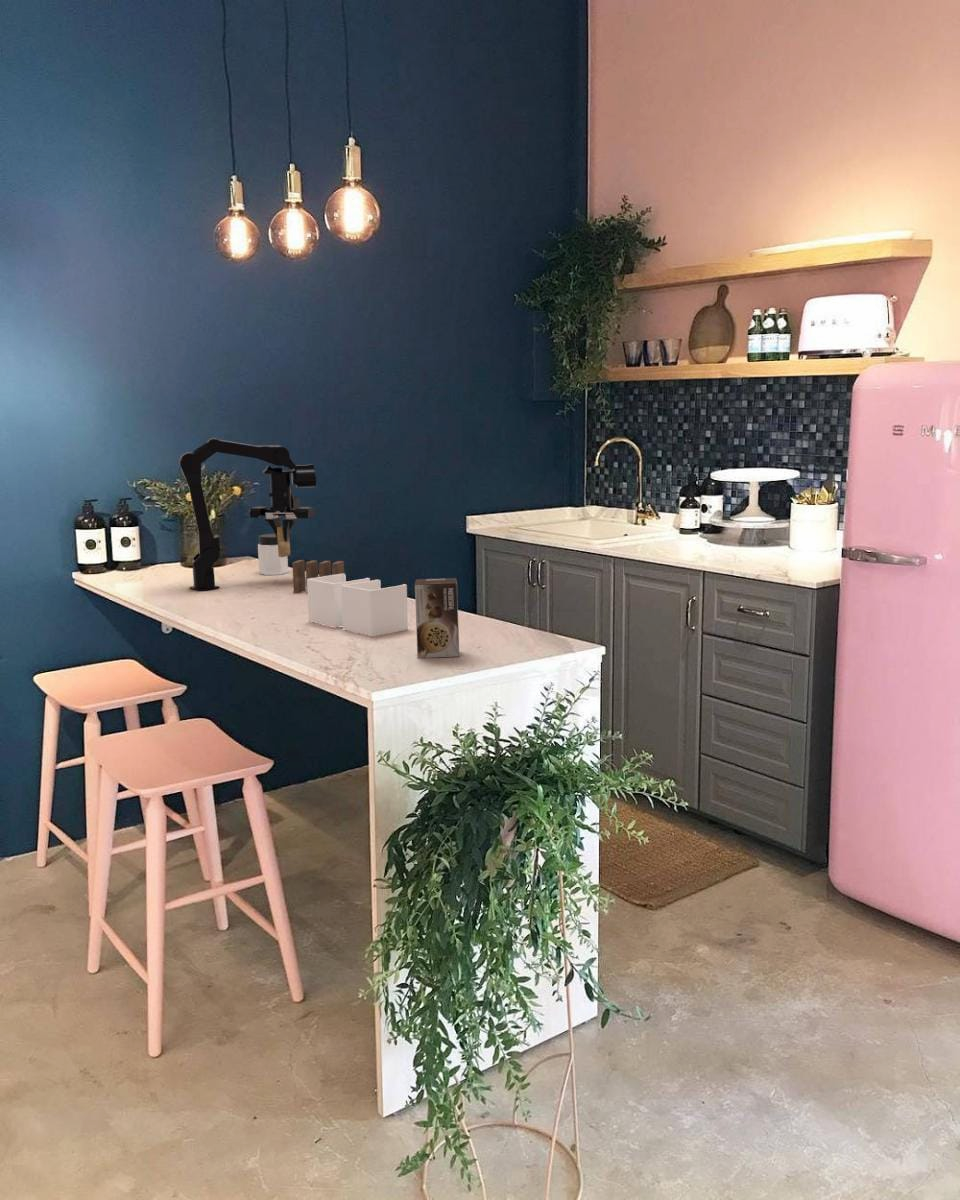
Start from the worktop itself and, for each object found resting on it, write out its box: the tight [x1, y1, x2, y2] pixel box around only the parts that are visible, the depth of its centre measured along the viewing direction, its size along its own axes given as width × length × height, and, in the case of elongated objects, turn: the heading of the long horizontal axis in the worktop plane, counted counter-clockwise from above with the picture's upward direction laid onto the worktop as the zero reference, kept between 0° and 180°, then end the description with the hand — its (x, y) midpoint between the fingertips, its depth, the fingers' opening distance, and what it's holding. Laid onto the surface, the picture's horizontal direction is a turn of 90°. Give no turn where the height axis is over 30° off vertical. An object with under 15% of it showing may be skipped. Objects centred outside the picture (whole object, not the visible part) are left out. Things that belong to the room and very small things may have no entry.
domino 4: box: [318, 560, 332, 577], centre depth 316 cm, size 2×5×9 cm, turn 165°
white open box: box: [306, 573, 409, 637], centre depth 271 cm, size 25×11×11 cm, turn 44°
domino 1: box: [277, 525, 291, 557], centre depth 331 cm, size 2×5×9 cm, turn 165°
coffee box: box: [414, 577, 460, 659], centre depth 239 cm, size 9×6×16 cm
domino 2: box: [291, 559, 307, 594], centre depth 318 cm, size 2×5×9 cm, turn 165°
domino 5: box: [331, 560, 345, 575], centre depth 315 cm, size 2×5×9 cm, turn 165°
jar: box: [257, 533, 289, 576], centre depth 352 cm, size 9×8×12 cm
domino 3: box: [305, 559, 319, 586], centre depth 317 cm, size 2×5×9 cm, turn 165°
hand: (283, 541), depth 331 cm, fingers closed on domino 1, 2 cm apart
